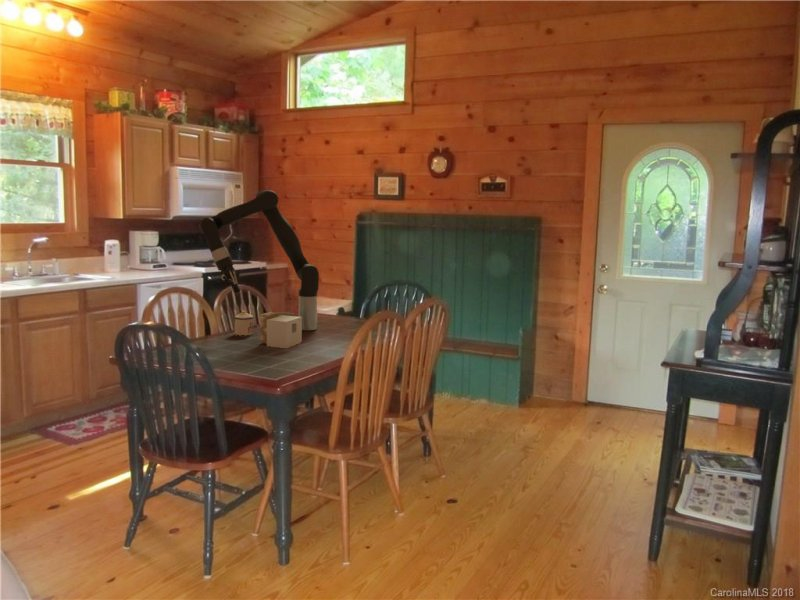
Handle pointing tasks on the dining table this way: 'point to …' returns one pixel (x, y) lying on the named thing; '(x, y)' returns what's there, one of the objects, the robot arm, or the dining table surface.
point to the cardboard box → (284, 331)
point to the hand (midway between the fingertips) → (237, 292)
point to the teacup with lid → (243, 324)
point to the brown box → (263, 325)
